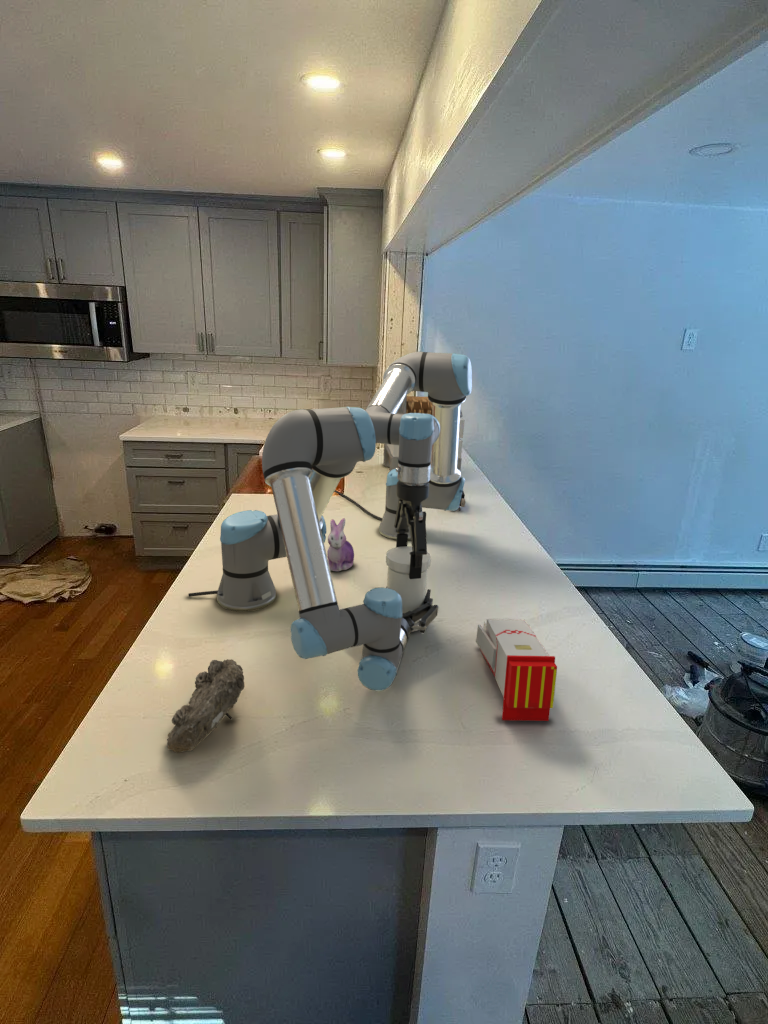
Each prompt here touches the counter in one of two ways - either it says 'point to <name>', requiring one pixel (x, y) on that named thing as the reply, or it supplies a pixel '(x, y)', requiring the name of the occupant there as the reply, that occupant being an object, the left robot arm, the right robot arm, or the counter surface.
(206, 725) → the fossil
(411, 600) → the jar
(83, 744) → the counter surface
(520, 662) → the toy
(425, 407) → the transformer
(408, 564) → the lid
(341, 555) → the figurine
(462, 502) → the figurine character
